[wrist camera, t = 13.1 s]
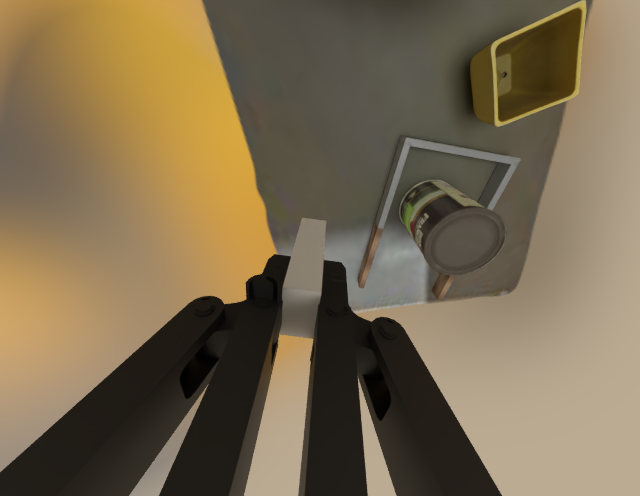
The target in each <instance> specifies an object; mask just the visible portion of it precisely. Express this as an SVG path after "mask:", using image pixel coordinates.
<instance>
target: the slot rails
mask: <svg viewBox="0 0 640 496" xmlns="http://www.w3.org/2000/svg"><path fill="white" fill-rule="evenodd" d="M382 231H383V229H382V228H378V227H377V224H376V222H375V223H374V227H373V230H372V233H371V236H370V240H369V243H368V246H367V250H366V253H365V256H364V260H363V263H362V266H361V269H360V273H359V276H358V284H359V287H360V288H364V286H365V283H366V280H367V277H368V274H369V270H370V267H371V264H372V261H373V258H374V255H375V252H376V249H377V246H378V243H379V240H380V237H381V234H382ZM455 276H456V275H445V274H442V273H441V274H440V276H439V278H438V280H437V282H436V284H435V286H434V288H433V290H432V291H433V293H434V295H435V296H436V298H437V300H442V299H443V297H444V295H445V294H446V292H447V290H448V288H449V287H450V285H451V283H452V281H453V279H454V278H455Z"/></svg>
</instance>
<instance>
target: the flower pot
mask: <svg viewBox="0 0 640 496" xmlns="http://www.w3.org/2000/svg"><path fill="white" fill-rule="evenodd" d="M585 18H586V1H585V0H582V1H580V2H577V3H575V4H573V5H571V6H569V7H567V8H565V9H563V10H561V11H559V12H556V13H554V14H552V15H550V16H548V17H546V18H544V19H541V20H539V21H537V22H535V23H533V24H531V25H528V26H526V27H524V28H522V29H520V30H518V31H515V32H513V33H511V34H509V35H507V36H504V37H502V38H500V39H498V40H496V41H494V42H493V43H491V44H490V45H488V46H487V47H486V48H484V49H483V50H481V51H480V52H478V53H477V54H476V55H475V56H474V57H473V59H472V61H471V64H470V74H471V85H472V96H473V108H474V113H475V115H476V117H477V118H478V119H479V120H481V121H483V122H486V123H489V124H491V125H494V126H497V127H499V126H502V125H505V124H508V123H510V122H513V121H515V120H517V119H520V118H523V117H525V116H528V115H530V114H533V113H535V112H538V111H540V110H543V109H546V108H548V107H551V106H554V105H556V104H559V103H562V102H564V101H567V100H569V99H571V98H573V97H575V96H576V95H577V94H578V92H579V85H580V69H581V53H582V43H583V35H584V27H585ZM503 73H506V76H505V77H502V74H503Z"/></svg>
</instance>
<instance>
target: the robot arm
mask: <svg viewBox="0 0 640 496" xmlns="http://www.w3.org/2000/svg"><path fill="white" fill-rule="evenodd" d="M325 231H326V221H324V220H316V219H309V218H302V220H301V224H300V227H299V231H298V234H297V238H296V241H295V245H294V249H293V252H292V256H284V255H276V254H274V255H273V256H272V257H271V258H269V259H268V262H267V264H266V267H265V268H264V271H263V273H262V274H260V275H255V276H253V277H251V278H250V279H248V281H247V282H246V297H247V299H246V300H244V301H242V302H238V303H231V304H224V303H223V302H222V300H221V299H219V298H217V297H214V296H205V297H200V298H197V299H195V300H193V301H192V302H190V303H189V304H188V305H187V306H186V307H185V308H183V309H182V310H181V311H180V312H179V313H178V314H177V315H176V316H174V317H173V318H172V319H171V320H170V321H169V322H168V323H167V324H165V325H164V326H163V327H162V328H161V329H160V330H159V331H158V332H157V333H156V334H154V335H153V336H152V337H151V338H150V339H149V340H148V341H147V342H145V343H144V344H143V345H142V346H141V347H140V348H139V349H138V350H137V351H135V352H134V353H133V354H132V355H131V356H130V357H129V358H128V359H126V360H125V361H124V362H123V363H122V364H121V365H120V366H119V367H117V368H116V369H115V370H114V371H113V372H112V373H111V374H110V375H109V376H108V377H106V378H105V379H104V380H103V381H102V382H101V383H100V384H99V385H98V386H96V387H95V388H94V389H93V390H92V391H91V392H90V393H88V394H87V395H86V396H85V397H84V398H83V399H82V400H81V401H79V402H78V403H77V404H76V405H75V406H74V407H73V408H72V409H71V410H70V411H68V412H67V413H66V414H65V415H64V416H63V417H62V418H61V419H59V420H58V421H57V422H56V423H55V424H54V425H53V426H52V427H51V428H49V429H48V430H47V431H46V432H45V433H44V434H43V435H42V436H41V437H39V438H38V439H37V440H36V441H35V442H34V443H33V444H31V445H30V447H28V448H27V449H26V450H25V451H24V452H23V453H22V454H20V455H19V456H18V457H17V458H16V459H15V460H14V461H12V463H10V464H9V465H8V466H7V467H6V468H5V469H4V470H3V471H1V472H0V496H129V495H130V493H131V492H132V490H133V489H134V488H135V486H136V485H137V483H138V482H139V480H140V479H141V478H142V476H143V475H144V474H145V472H146V471H147V469H148V468H149V467H150V465H151V464H152V462H153V461H154V460H155V458H156V456H157V455H158V454H159V452H160V451H161V450H162V448H163V447H164V445H165V444H166V442H167V441H168V440H169V438H170V437H171V436H172V434H173V433H174V431H175V430H176V428H177V427H178V426H179V424H180V423H181V422H182V420H183V419H184V417H185V416H186V415H187V413H188V411H189V410H190V409H191V407H192V406H193V405H194V403H195V402H196V400H197V399H198V398H199V396H200V395H201V393H202V392H203V391H204V389H205V388H206V386H207V385H208V384H209V385H208V387H207V389H206V391H205V394H204V396H203V398H202V401H201V403H200V405H199V407H198V409H197V411H196V414H195V416H194V418H193V420H192V423H191V425H190V427H189V429H188V432H187V434H186V436H185V439H184V441H183V443H182V445H181V448H180V450H179V452H178V454H177V456H176V459H175V461H174V463H173V465H172V468H171V470H170V472H169V474H168V477H167V479H166V481H165V483H164V486H163V488H162V490H161V493H160V495H159V496H244V492H245V488H246V484H247V479H248V475H249V471H250V466H251V462H252V457H253V453H254V449H255V444H256V440H257V436H258V431H259V427H260V423H261V418H262V413H263V409H264V405H265V401H266V396H267V392H268V387H269V383H270V379H271V374H272V370H273V366H274V361H275V357H276V352H277V348H278V338H279V333H280V334H281V335H289V336H297V337H305V338H313V346H312V352H311V358H310V361H311V365H310V375H309V388H308V397H307V398H308V399H307V408H306V419H305V429H304V440H303V451H302V462H301V473H300V485H299V494H298V496H368V494H367V483H366V470H365V459H364V447H363V435H362V423H361V411H360V400H359V388H358V378H359V381H360V384H361V387H362V390H363V393H364V397H365V400H366V403H367V406H368V409H369V412H370V415H371V418H372V421H373V424H374V427H375V431H376V434H377V437H378V440H379V443H380V446H381V449H382V452H383V455H384V458H385V461H386V465H387V467H388V471H389V474H390V477H391V480H392V483H393V486H394V489H395V492H396V495H397V496H502V495H501V493H500V491H499V490H498V488H497V486H496V485H495V483H494V481H493V480H492V478H491V476H490V474H489V473H488V471H487V469H486V468H485V466H484V464H483V463H482V461H481V459H480V457H479V456H478V454H477V452H476V451H475V449H474V447H473V446H472V444H471V442H470V440H469V439H468V437H467V435H466V434H465V432H464V430H463V429H462V427H461V426H460V423H459V422H458V420H457V418H456V417H455V415H454V413H453V411H452V410H451V408H450V406H449V405H448V403H447V401H446V400H445V398H444V396H443V394H442V393H441V391H440V389H439V388H438V386H437V384H436V382H435V381H434V379H433V377H432V376H431V374H430V372H429V371H428V369H427V367H426V366H425V364H424V362H423V360H422V359H421V357H420V355H419V354H418V352H417V350H416V348H415V347H414V345H413V343H412V342H411V340H410V338H409V337H408V335H407V333H406V331H405V330H404V328H403V327H402V326H401V325H400V324H399V323H398V322H396V321H395V320H392V319H390V318H387V317H380V318H376V319H375V320H373V321H372V322H371V321H368V320H365V319H363V318H361V317H359V316H357V315H356V314H355V313H354V312H353V311H352V310H351V307H350V306H349V304H348V293H347V282H346V281H347V280H346V268H345V267H344V266H343V264H342V263H341V262H334V261H327V260H324V246H325ZM357 375H358V376H357Z"/></svg>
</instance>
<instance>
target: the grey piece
mask: <svg viewBox="0 0 640 496" xmlns="http://www.w3.org/2000/svg"><path fill="white" fill-rule="evenodd" d="M410 146H414V147H419V148H425V149H430V150H436V151H441V152H447V153H452V154H458V155H463V156H469V157H474V158H479V159H485V160H490V161H496V162H498V164H497V166H496V168H495V170H494V172H493V174H492V176H491V178H490V180H489V182H488V184H487V185H486V187H485V189H484V191H483V193H482V195H481V197H480V199H479V201H478V203H479V204H480V205H482V206H483V207H485V208H487V209H490V210H493V208H494V206H495V205H496V203H497V201H498V199H499V197H500V196H501V194H502V192H503V190H504V188H505V187H506V185H507V183H508V181H509V180H510V178H511V176H512V174H513V172H514V171H515V169H516V167H517V165H518V164H519V162H520V160H521V159H520V158H517V157H513V156H509V155H503V154H498V153H492V152H487V151H482V150H476V149H471V148H465V147H460V146H454V145H449V144H444V143H438V142H433V141H427V140H422V139H416V138H411V137H406V136H401V137H400V141H399V144H398V147H397V151H396V154H395V157H394V160H393V164H392V167H391V170H390V174H389V177H388V180H387V184H386V187H385V190H384V194H383V197H382V200H381V203H380V207H379V210H378V213H377V217H376V220H375V222H376V224H377V227H378V228H382V229H383V228H384V225H385V222H386V219H387V215H388V212H389V209H390V206H391V203H392V200H393V197H394V194H395V191H396V188H397V185H398V182H399V179H400V176H401V173H402V170H403V167H404V164H405V161H406V157H407V154H408V151H409V148H410Z"/></svg>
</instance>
